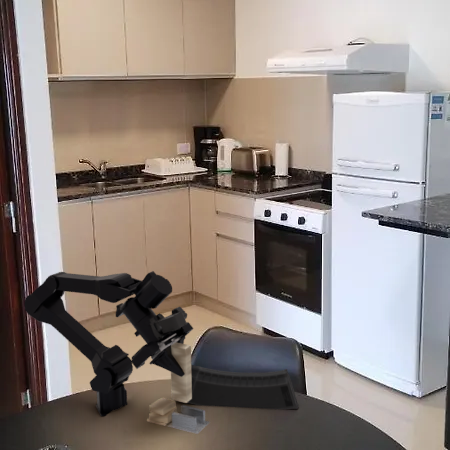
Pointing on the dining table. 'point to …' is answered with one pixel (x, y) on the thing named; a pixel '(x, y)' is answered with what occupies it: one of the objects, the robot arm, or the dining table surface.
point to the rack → (189, 419)
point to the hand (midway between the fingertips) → (186, 373)
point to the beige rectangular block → (183, 385)
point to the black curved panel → (242, 389)
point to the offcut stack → (162, 411)
